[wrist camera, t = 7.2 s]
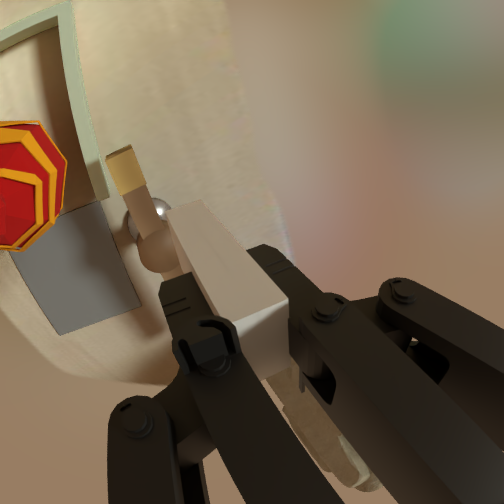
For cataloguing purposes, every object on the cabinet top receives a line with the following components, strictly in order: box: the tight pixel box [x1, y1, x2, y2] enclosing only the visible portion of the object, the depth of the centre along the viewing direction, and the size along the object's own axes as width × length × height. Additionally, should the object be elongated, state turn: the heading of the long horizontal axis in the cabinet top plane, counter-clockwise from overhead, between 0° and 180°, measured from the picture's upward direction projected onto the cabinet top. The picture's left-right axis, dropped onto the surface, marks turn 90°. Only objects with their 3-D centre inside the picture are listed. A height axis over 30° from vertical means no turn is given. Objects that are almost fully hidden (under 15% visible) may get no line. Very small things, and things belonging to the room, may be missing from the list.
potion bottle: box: [0, 121, 67, 252], centre depth 15 cm, size 10×10×15 cm
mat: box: [9, 201, 141, 336], centre depth 28 cm, size 14×12×1 cm
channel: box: [0, 0, 110, 202], centre depth 17 cm, size 19×15×3 cm
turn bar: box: [105, 144, 184, 281], centre depth 27 cm, size 4×23×2 cm, turn 14°
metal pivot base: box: [128, 198, 171, 240], centre depth 28 cm, size 5×5×4 cm
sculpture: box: [266, 357, 383, 492], centre depth 32 cm, size 15×8×30 cm, turn 139°
